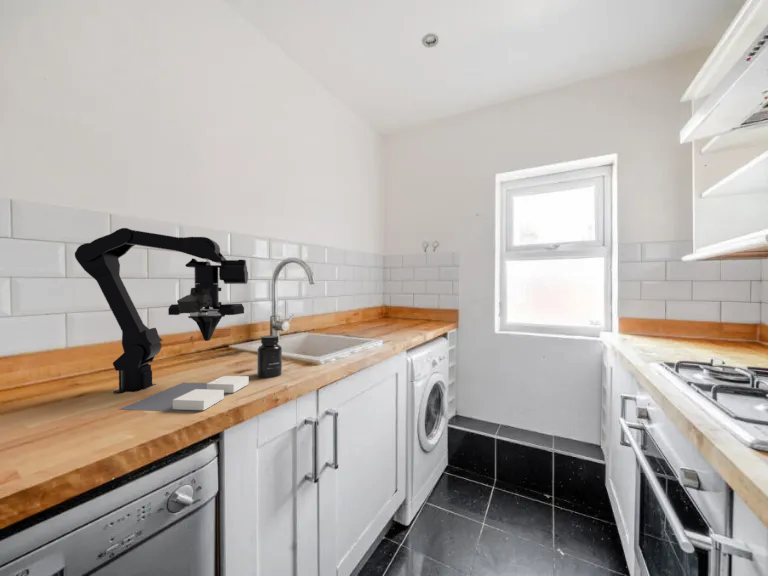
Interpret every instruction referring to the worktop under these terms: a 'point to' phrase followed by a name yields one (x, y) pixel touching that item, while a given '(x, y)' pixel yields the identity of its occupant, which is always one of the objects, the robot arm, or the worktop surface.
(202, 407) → the tile near
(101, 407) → the worktop surface
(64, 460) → the worktop surface
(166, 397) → the mat
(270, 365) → the supplement bottle
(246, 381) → the tile far
